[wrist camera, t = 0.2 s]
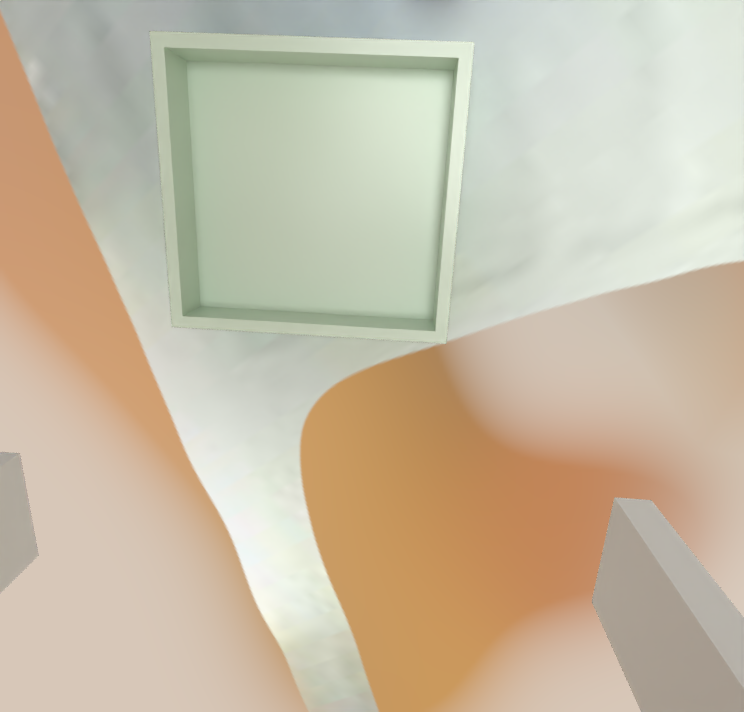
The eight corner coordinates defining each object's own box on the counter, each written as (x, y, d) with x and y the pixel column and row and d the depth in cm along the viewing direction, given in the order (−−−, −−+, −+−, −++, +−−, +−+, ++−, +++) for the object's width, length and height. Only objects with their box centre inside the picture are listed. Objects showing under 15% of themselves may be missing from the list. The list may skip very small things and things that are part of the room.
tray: (178, 49, 34) (149, 31, 30) (466, 59, 33) (474, 42, 29) (194, 313, 39) (171, 327, 35) (442, 328, 38) (446, 343, 34)
